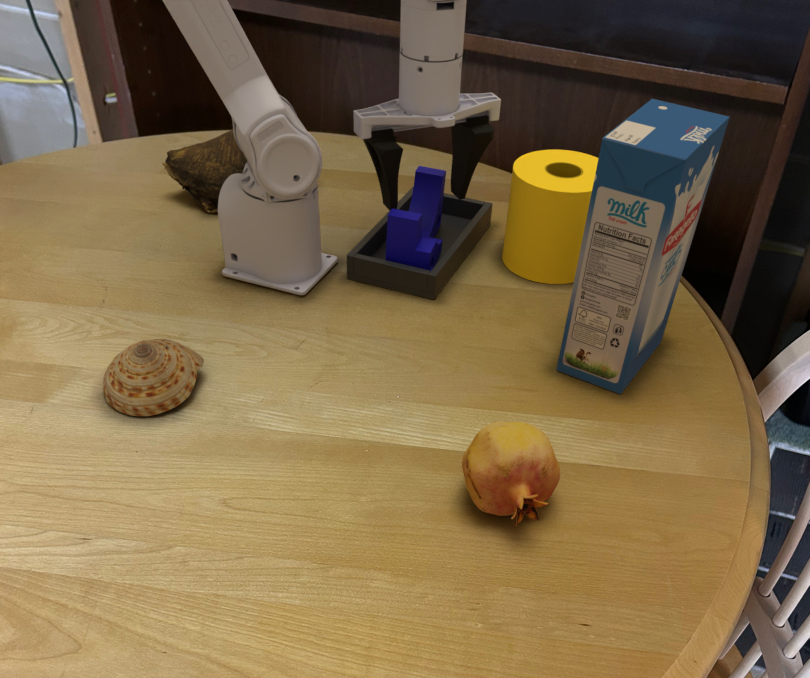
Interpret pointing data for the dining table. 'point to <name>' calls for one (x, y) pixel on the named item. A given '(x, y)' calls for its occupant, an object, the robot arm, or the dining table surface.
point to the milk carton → (637, 239)
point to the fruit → (510, 469)
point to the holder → (457, 231)
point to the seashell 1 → (151, 377)
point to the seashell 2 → (206, 168)
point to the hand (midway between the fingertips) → (424, 201)
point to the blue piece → (418, 223)
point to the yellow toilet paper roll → (548, 214)
